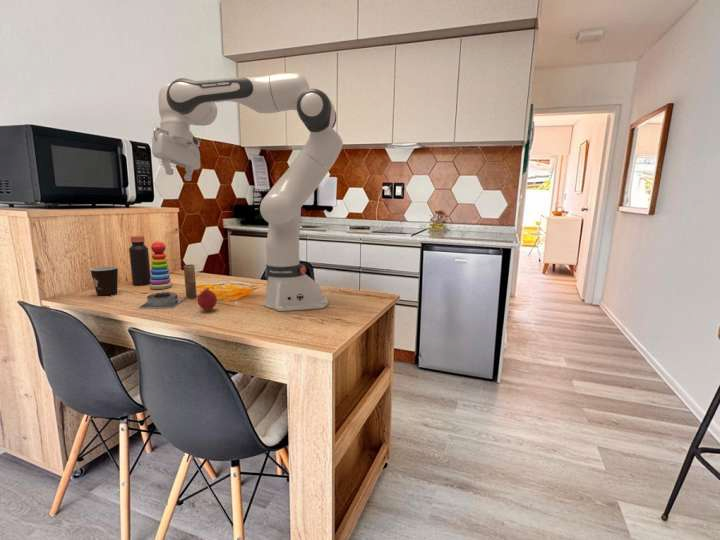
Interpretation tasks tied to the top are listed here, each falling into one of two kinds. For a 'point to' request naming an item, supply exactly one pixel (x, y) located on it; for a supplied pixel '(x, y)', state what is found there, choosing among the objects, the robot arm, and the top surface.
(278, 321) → the top surface
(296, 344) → the top surface
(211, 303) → the onion
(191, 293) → the dowel
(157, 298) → the collar
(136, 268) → the bottle
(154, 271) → the stacking toy
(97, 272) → the coffee mug
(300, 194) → the robot arm
